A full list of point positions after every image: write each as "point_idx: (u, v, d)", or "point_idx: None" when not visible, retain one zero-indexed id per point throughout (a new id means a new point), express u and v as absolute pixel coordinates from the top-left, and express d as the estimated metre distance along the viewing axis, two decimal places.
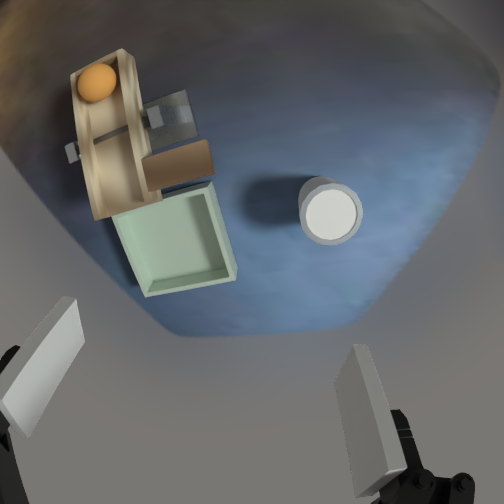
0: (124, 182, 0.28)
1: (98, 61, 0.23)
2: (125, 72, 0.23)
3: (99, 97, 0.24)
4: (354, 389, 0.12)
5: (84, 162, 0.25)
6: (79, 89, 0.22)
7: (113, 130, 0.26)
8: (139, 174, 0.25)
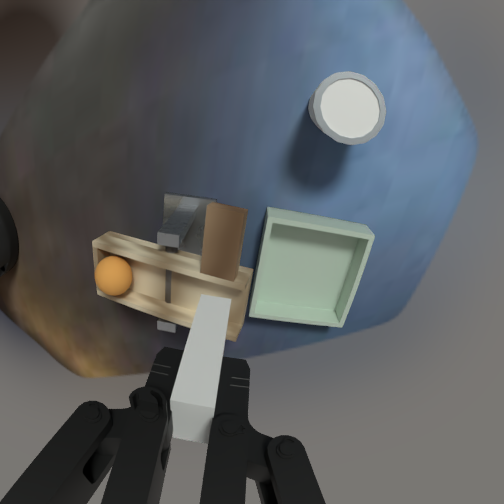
0: (217, 295, 0.29)
1: (95, 265, 0.29)
2: (115, 248, 0.27)
3: (127, 280, 0.28)
4: None
5: (178, 321, 0.29)
6: (110, 294, 0.28)
7: (165, 280, 0.30)
8: (213, 281, 0.26)
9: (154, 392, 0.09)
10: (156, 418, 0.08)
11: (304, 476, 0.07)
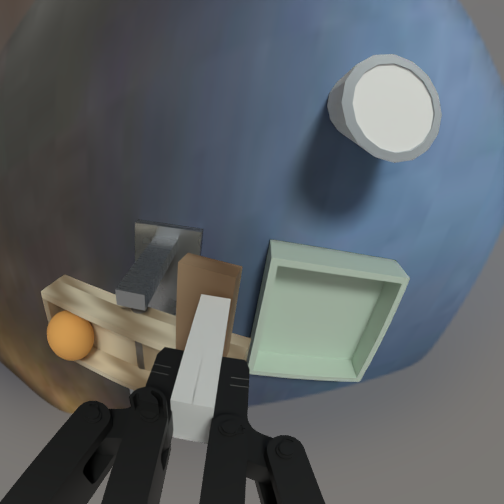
0: None
1: (49, 320, 0.20)
2: (66, 304, 0.19)
3: (86, 344, 0.20)
4: None
5: None
6: None
7: (135, 343, 0.21)
8: None
9: (154, 392, 0.09)
10: (156, 418, 0.08)
11: (303, 476, 0.07)
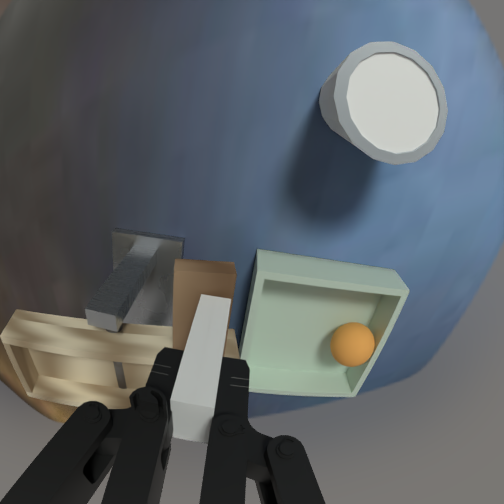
0: None
1: (14, 365, 0.15)
2: (35, 343, 0.15)
3: (373, 350, 0.24)
4: None
5: None
6: (351, 366, 0.24)
7: (114, 365, 0.19)
8: None
9: (154, 392, 0.09)
10: (156, 418, 0.08)
11: (304, 476, 0.07)
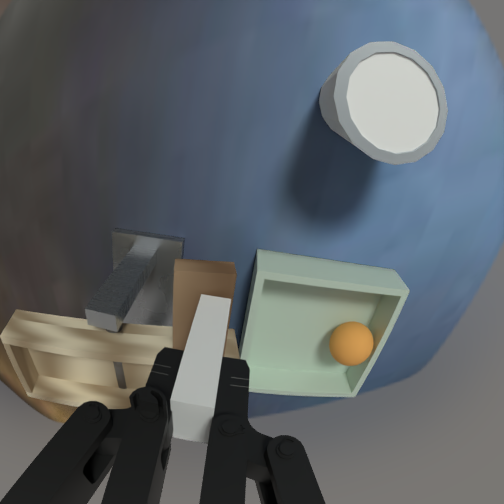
0: None
1: (14, 365, 0.15)
2: (35, 343, 0.15)
3: None
4: None
5: None
6: (351, 365, 0.24)
7: (114, 365, 0.19)
8: None
9: (154, 392, 0.09)
10: (156, 418, 0.08)
11: (304, 476, 0.07)
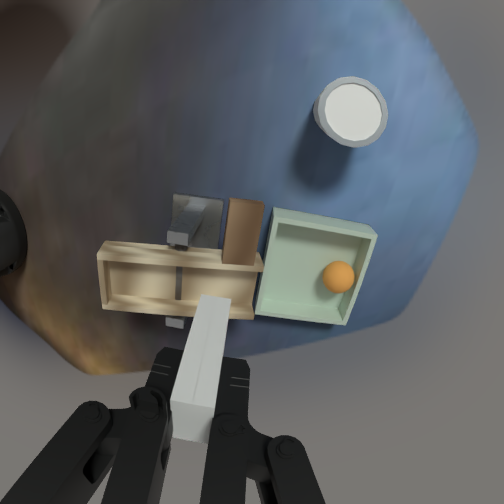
0: (229, 282, 0.32)
1: (101, 279, 0.27)
2: (126, 256, 0.27)
3: (353, 281, 0.36)
4: None
5: None
6: (337, 292, 0.36)
7: (175, 278, 0.31)
8: (234, 268, 0.29)
9: (154, 392, 0.09)
10: (156, 418, 0.08)
11: (304, 476, 0.07)
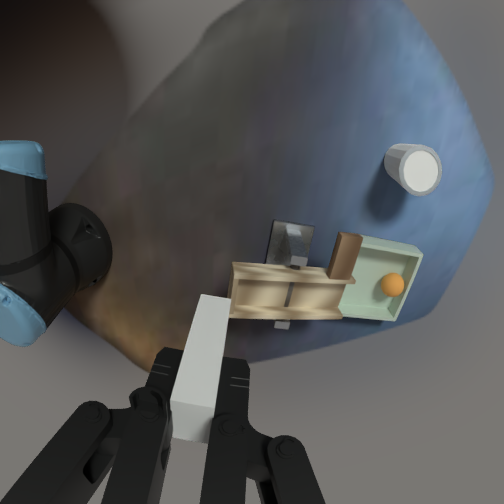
0: (325, 291, 0.41)
1: (233, 294, 0.37)
2: (260, 275, 0.36)
3: (403, 288, 0.45)
4: None
5: (304, 317, 0.40)
6: (392, 296, 0.45)
7: (288, 290, 0.40)
8: (337, 282, 0.38)
9: (154, 392, 0.09)
10: (156, 418, 0.08)
11: (304, 476, 0.07)
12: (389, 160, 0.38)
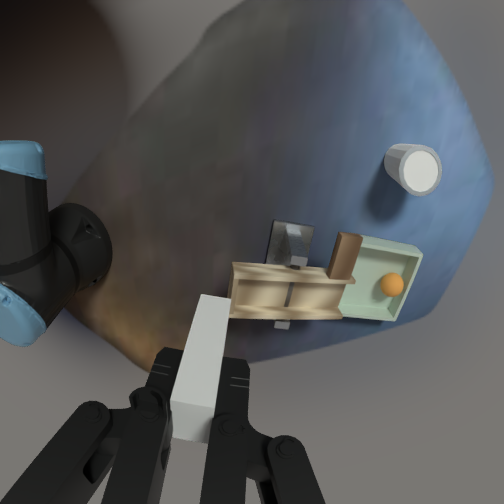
0: (325, 291, 0.41)
1: (233, 294, 0.37)
2: (260, 275, 0.36)
3: (402, 288, 0.45)
4: None
5: (304, 317, 0.40)
6: (391, 296, 0.45)
7: (288, 290, 0.40)
8: (337, 282, 0.38)
9: (154, 392, 0.09)
10: (156, 418, 0.08)
11: (304, 476, 0.07)
12: (389, 160, 0.38)
